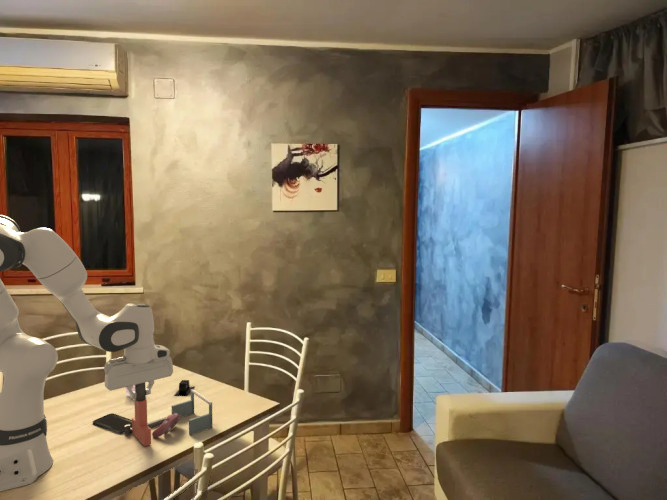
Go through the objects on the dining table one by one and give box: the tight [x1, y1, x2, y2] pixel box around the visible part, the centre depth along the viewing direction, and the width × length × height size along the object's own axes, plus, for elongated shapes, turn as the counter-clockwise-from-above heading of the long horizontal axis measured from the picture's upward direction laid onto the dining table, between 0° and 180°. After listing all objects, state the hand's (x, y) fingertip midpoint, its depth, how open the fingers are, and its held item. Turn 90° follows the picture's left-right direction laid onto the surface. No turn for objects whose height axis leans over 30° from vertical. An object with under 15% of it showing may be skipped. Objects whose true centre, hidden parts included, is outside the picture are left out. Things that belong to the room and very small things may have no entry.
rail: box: [123, 416, 168, 436], centre depth 154 cm, size 14×1×3 cm, turn 132°
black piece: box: [173, 379, 195, 397], centre depth 185 cm, size 12×7×5 cm, turn 179°
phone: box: [92, 412, 132, 435], centre depth 157 cm, size 8×1×15 cm
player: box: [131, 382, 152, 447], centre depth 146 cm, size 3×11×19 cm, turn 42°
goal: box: [171, 388, 213, 436], centre depth 158 cm, size 8×15×9 cm, turn 42°
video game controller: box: [151, 413, 182, 439], centre depth 152 cm, size 10×5×7 cm, turn 169°
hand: (140, 395), depth 145 cm, fingers closed on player, 3 cm apart
